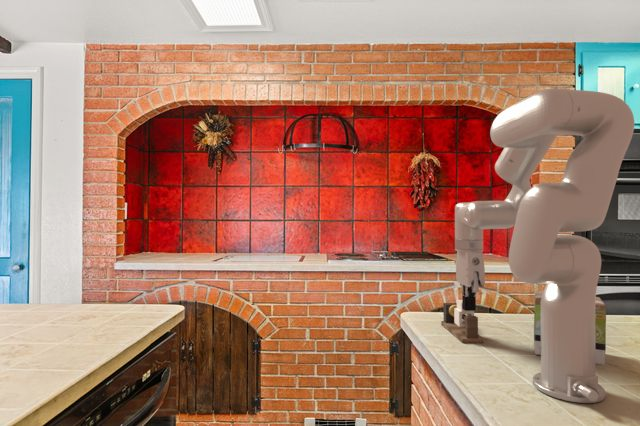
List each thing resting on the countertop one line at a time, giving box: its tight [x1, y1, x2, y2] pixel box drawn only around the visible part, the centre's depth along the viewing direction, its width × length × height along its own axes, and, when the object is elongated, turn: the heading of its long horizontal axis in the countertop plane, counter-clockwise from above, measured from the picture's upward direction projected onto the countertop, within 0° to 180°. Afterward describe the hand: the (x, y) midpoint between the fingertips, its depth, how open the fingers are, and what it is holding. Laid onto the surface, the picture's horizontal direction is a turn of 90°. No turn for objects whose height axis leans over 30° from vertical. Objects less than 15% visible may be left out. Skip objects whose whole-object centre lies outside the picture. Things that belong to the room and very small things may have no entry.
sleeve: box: [454, 299, 475, 327], centre depth 117 cm, size 4×4×7 cm
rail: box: [441, 302, 485, 344], centre depth 120 cm, size 18×6×7 cm, turn 1°
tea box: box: [533, 291, 607, 366], centre depth 102 cm, size 15×10×15 cm, turn 62°
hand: (468, 309), depth 113 cm, fingers closed
